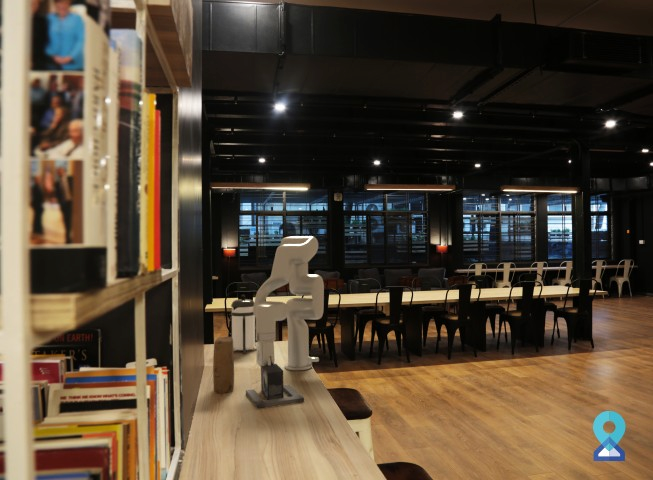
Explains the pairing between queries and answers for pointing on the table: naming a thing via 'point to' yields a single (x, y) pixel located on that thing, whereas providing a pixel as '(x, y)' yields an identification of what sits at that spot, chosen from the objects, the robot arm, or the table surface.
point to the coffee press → (243, 324)
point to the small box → (272, 382)
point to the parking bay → (259, 403)
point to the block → (223, 365)
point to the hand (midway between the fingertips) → (266, 383)
